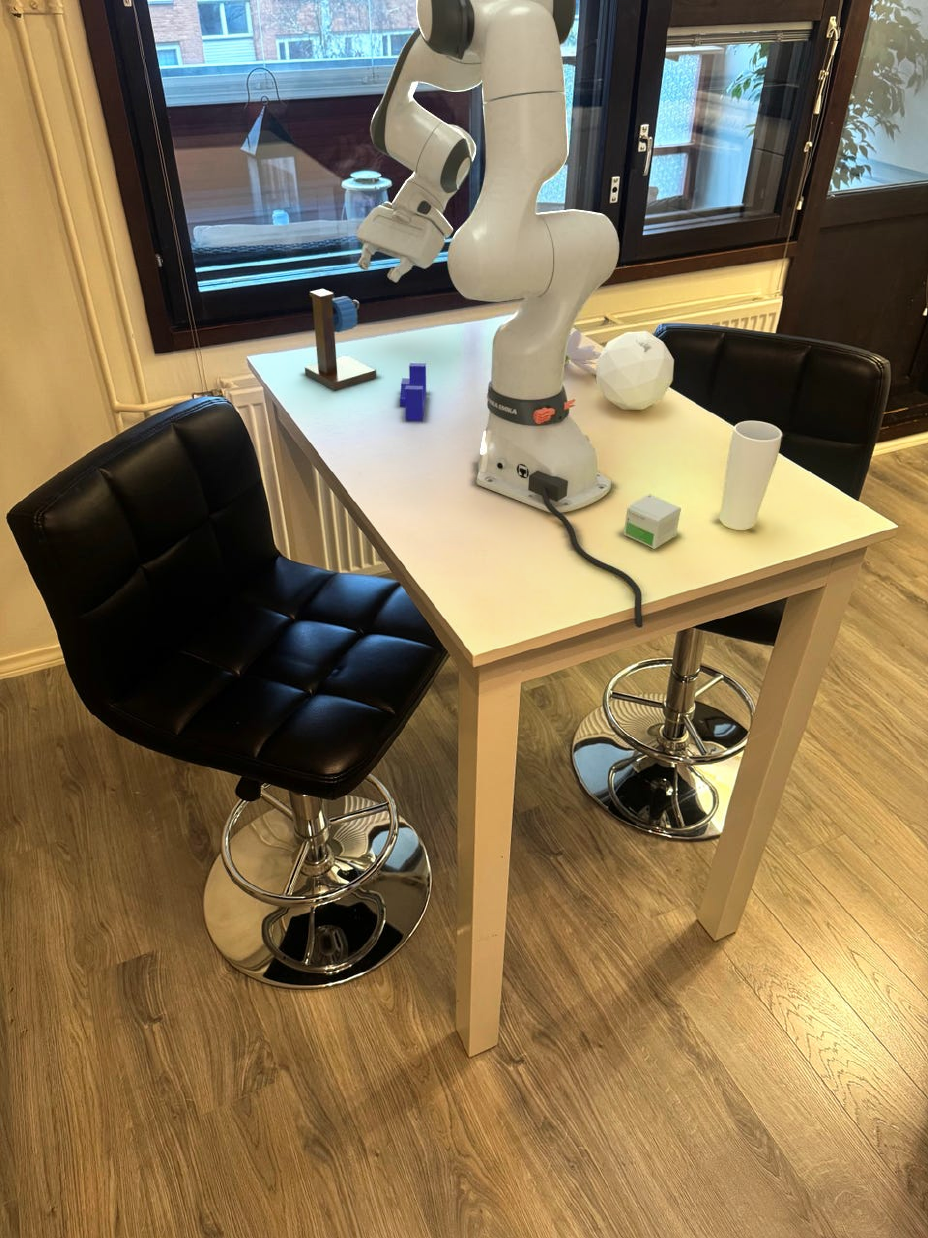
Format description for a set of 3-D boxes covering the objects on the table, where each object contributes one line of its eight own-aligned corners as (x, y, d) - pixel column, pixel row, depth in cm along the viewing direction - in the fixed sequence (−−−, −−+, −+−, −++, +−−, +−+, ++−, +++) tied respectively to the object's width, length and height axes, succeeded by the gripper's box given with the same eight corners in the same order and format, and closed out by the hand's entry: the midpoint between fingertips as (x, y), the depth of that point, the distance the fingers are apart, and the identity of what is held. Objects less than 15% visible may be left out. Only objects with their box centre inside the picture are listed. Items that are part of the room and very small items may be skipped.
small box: (622, 535, 132) (626, 505, 129) (645, 521, 135) (650, 492, 132) (654, 550, 129) (659, 521, 126) (677, 536, 132) (682, 506, 129)
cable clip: (402, 393, 171) (401, 362, 167) (426, 393, 171) (426, 363, 167) (397, 420, 161) (396, 388, 158) (422, 421, 161) (422, 389, 158)
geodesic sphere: (700, 392, 159) (684, 311, 158) (629, 403, 155) (612, 320, 154) (657, 413, 173) (642, 339, 173) (591, 424, 169) (575, 348, 168)
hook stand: (347, 362, 183) (342, 277, 172) (377, 377, 177) (373, 290, 167) (305, 374, 177) (297, 287, 167) (334, 390, 171) (327, 301, 161)
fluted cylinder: (340, 323, 175) (338, 292, 171) (358, 332, 171) (356, 300, 168) (325, 327, 173) (323, 295, 169) (343, 336, 169) (341, 304, 166)
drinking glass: (726, 506, 139) (746, 415, 130) (767, 521, 136) (791, 429, 127) (705, 523, 135) (725, 431, 126) (747, 539, 131) (770, 445, 122)
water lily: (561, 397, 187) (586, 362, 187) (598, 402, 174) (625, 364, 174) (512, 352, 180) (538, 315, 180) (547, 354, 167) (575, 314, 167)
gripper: (372, 189, 174) (334, 251, 175) (440, 210, 162) (399, 276, 163) (392, 210, 179) (354, 270, 180) (459, 232, 167) (418, 296, 168)
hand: (376, 273), depth 171 cm, fingers open, 8 cm apart
